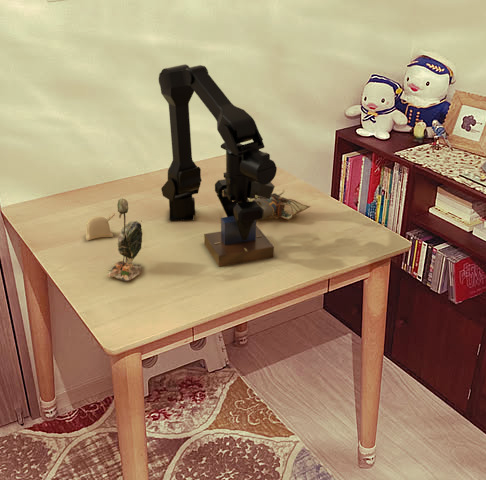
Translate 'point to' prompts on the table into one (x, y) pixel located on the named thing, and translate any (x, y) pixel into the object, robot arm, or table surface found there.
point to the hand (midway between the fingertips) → (238, 231)
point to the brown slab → (238, 249)
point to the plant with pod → (127, 246)
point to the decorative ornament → (98, 227)
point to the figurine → (278, 206)
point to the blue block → (234, 231)
